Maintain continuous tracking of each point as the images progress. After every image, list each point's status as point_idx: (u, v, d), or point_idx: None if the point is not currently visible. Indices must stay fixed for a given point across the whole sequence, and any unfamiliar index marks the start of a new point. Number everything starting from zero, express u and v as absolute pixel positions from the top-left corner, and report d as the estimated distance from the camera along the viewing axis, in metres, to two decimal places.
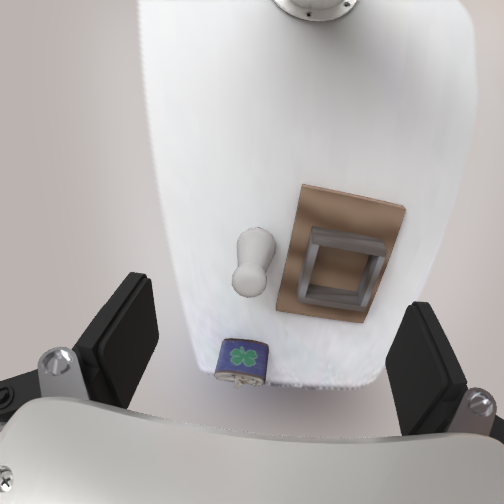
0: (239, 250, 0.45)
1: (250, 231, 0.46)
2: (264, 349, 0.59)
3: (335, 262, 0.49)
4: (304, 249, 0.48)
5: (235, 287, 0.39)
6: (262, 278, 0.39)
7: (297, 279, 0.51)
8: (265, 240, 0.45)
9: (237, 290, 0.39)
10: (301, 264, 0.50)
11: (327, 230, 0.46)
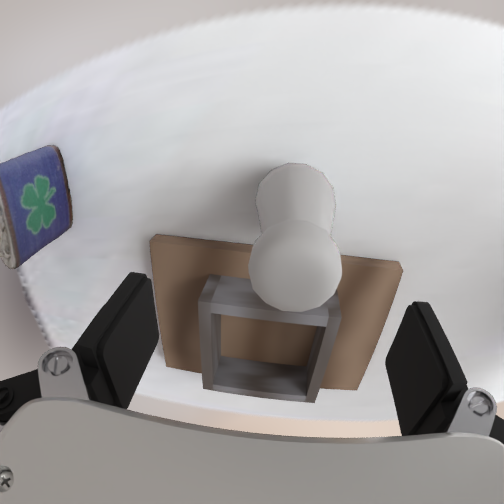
0: (310, 187, 0.19)
1: (333, 193, 0.22)
2: (63, 228, 0.28)
3: (270, 326, 0.30)
4: None
5: (285, 246, 0.13)
6: (316, 307, 0.15)
7: (226, 274, 0.28)
8: None
9: (275, 252, 0.13)
10: None
11: None
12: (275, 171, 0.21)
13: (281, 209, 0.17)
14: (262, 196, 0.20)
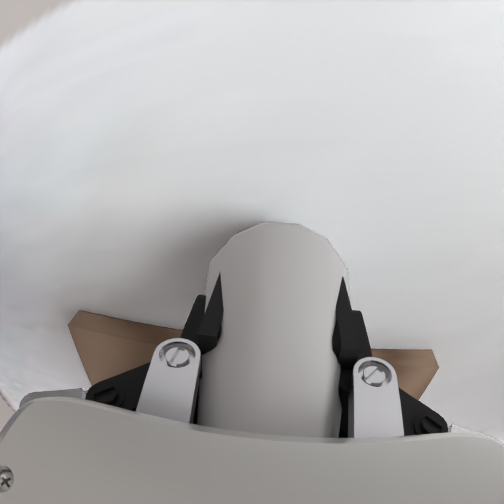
0: (305, 299, 0.09)
1: (347, 280, 0.12)
2: None
3: None
4: None
5: None
6: None
7: None
8: None
9: None
10: None
11: None
12: (236, 244, 0.11)
13: (231, 383, 0.07)
14: (207, 305, 0.10)
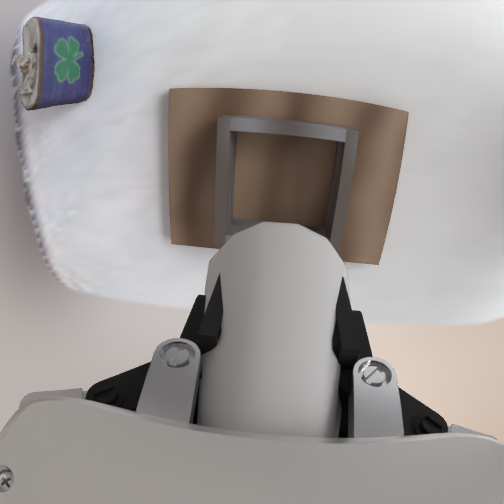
0: (305, 298, 0.09)
1: (347, 280, 0.12)
2: (82, 93, 0.26)
3: (286, 172, 0.29)
4: (304, 118, 0.26)
5: None
6: None
7: (242, 113, 0.27)
8: None
9: None
10: (274, 116, 0.26)
11: None
12: (236, 244, 0.11)
13: (231, 383, 0.07)
14: (207, 304, 0.10)
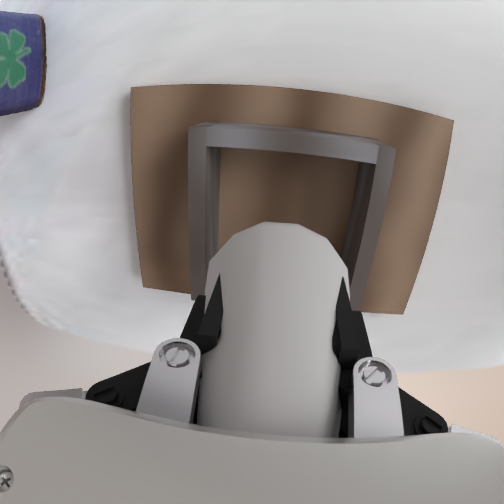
0: (305, 299, 0.09)
1: (347, 280, 0.12)
2: (31, 98, 0.19)
3: (289, 200, 0.21)
4: (315, 125, 0.19)
5: None
6: None
7: (228, 119, 0.19)
8: None
9: None
10: (273, 122, 0.19)
11: None
12: (236, 244, 0.11)
13: (231, 383, 0.07)
14: (207, 304, 0.10)
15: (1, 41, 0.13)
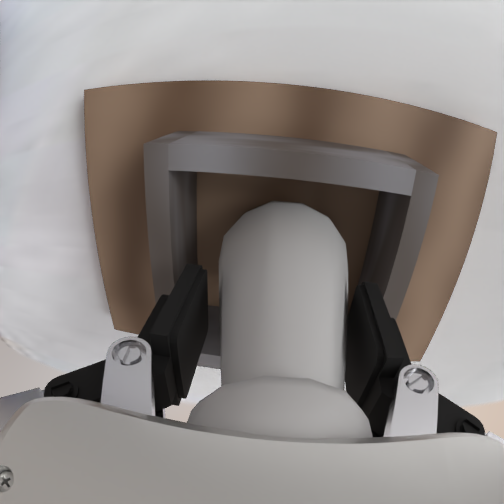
0: (311, 256, 0.10)
1: (346, 252, 0.13)
2: None
3: None
4: (324, 135, 0.14)
5: None
6: None
7: (206, 127, 0.14)
8: None
9: None
10: (267, 131, 0.14)
11: None
12: (249, 218, 0.13)
13: (252, 318, 0.08)
14: (225, 267, 0.12)
15: None
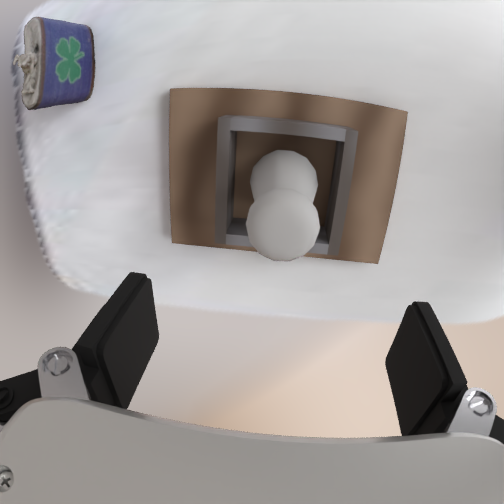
0: (295, 167, 0.23)
1: (315, 174, 0.26)
2: (83, 93, 0.27)
3: None
4: (304, 118, 0.26)
5: (274, 205, 0.17)
6: (300, 256, 0.19)
7: (243, 113, 0.27)
8: None
9: (266, 210, 0.17)
10: (274, 116, 0.27)
11: None
12: (266, 156, 0.26)
13: (271, 183, 0.21)
14: (256, 176, 0.24)
15: (64, 45, 0.21)
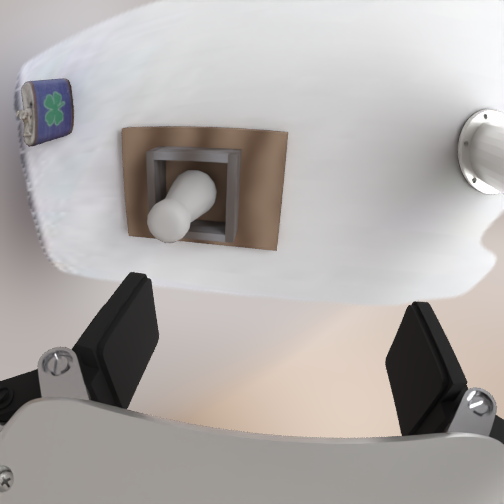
0: (191, 183, 0.35)
1: (213, 186, 0.38)
2: (66, 130, 0.39)
3: None
4: (209, 145, 0.39)
5: (158, 210, 0.29)
6: (177, 239, 0.31)
7: (168, 144, 0.39)
8: (207, 208, 0.38)
9: (154, 212, 0.29)
10: (189, 145, 0.39)
11: (239, 168, 0.39)
12: (179, 175, 0.38)
13: (170, 195, 0.33)
14: None
15: (49, 99, 0.33)
